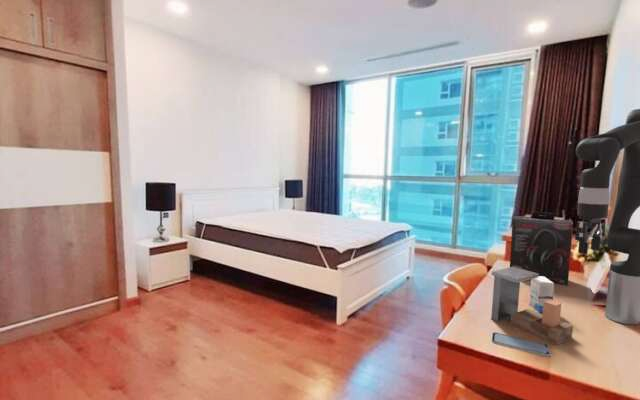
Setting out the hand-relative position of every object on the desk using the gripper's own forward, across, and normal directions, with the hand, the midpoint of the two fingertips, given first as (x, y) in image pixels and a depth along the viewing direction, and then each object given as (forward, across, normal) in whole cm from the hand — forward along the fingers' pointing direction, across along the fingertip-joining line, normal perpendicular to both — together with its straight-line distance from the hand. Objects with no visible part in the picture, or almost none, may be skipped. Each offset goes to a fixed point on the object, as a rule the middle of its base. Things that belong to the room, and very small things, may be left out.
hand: (589, 251), depth 107 cm
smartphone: (+27, -27, +6) cm, 38 cm away
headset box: (+28, +47, +38) cm, 67 cm away
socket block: (+27, -12, +7) cm, 30 cm away
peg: (+27, -12, +4) cm, 30 cm away
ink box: (+28, +8, +17) cm, 33 cm away
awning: (+27, -12, +16) cm, 34 cm away
